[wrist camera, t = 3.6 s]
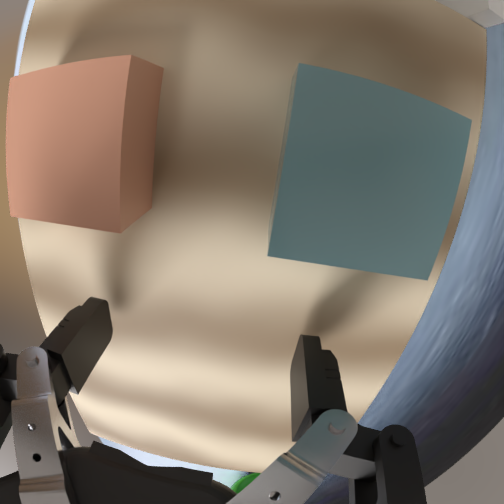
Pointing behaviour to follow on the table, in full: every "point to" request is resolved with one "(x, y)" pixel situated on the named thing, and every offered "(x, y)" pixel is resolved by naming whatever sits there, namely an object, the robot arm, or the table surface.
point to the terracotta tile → (83, 142)
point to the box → (478, 10)
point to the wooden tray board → (235, 217)
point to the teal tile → (364, 175)
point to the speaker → (244, 482)
